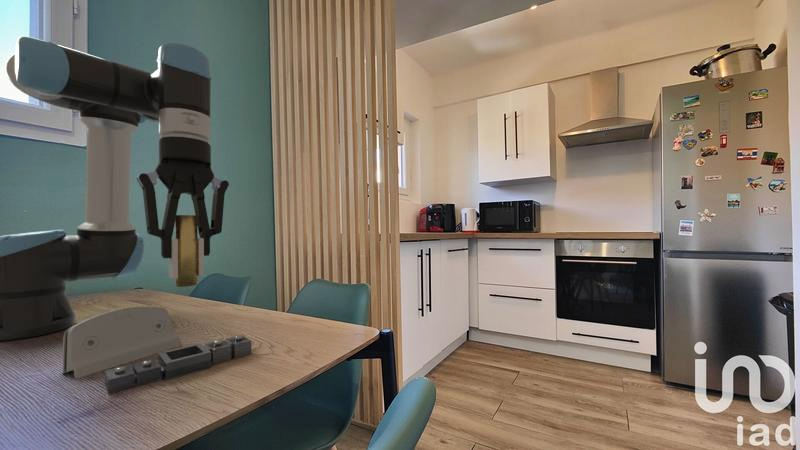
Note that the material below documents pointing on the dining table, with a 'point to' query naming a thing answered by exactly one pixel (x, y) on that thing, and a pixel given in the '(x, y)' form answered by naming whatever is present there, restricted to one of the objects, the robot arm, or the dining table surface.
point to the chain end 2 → (206, 352)
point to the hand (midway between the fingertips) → (186, 275)
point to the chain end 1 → (146, 373)
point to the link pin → (187, 250)
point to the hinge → (117, 339)
